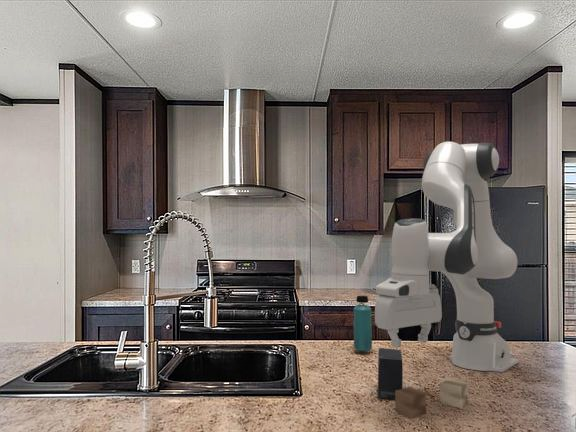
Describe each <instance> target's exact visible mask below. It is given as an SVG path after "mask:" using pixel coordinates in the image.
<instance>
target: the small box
mask: <svg viewBox="0 0 576 432" xmlns="http://www.w3.org/2000/svg"><path fill="white" fill-rule="evenodd" d="M377 354H378V355H377V356H378V358H377V399H385V400H395V391H396V390H400V389H403V377H404V376H403V375H404V374H403V373H404V372H403V369H404V366H403V357H402V351H401V349H393V348H384V347H383V348H382V347H379V348H378V353H377Z"/></svg>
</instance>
